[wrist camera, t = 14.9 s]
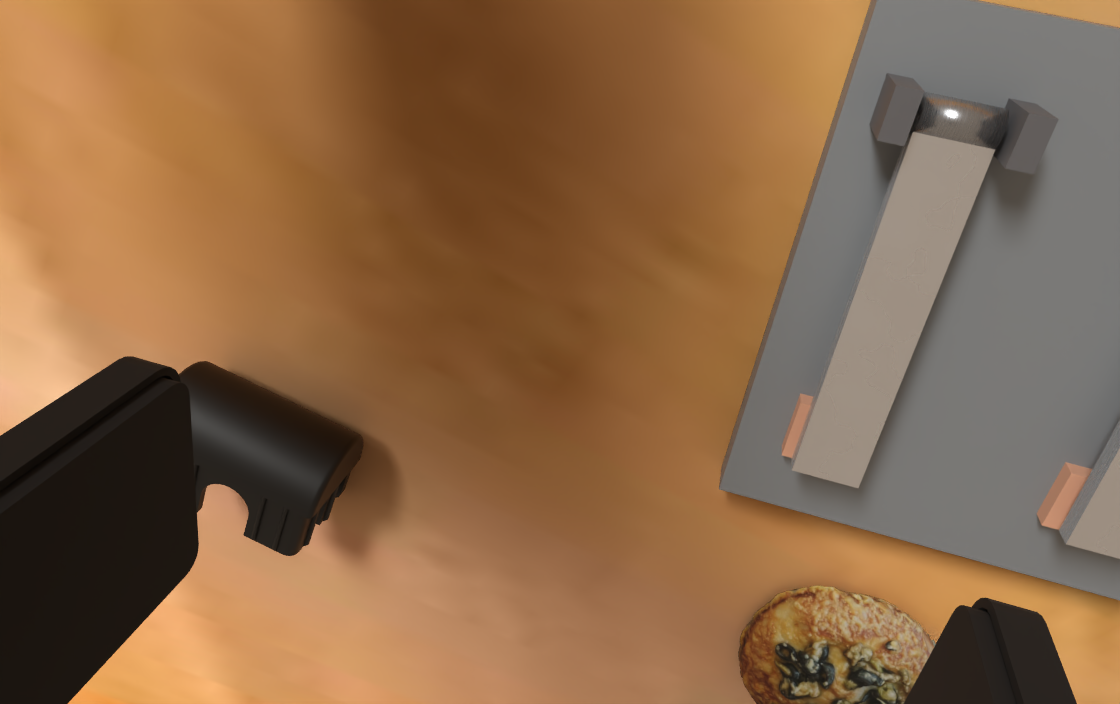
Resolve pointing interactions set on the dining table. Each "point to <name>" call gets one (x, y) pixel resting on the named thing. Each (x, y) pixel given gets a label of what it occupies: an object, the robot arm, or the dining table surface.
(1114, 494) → the strap
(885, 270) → the strap
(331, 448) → the end cap
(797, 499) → the clamp board
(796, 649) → the bread roll
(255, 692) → the dining table surface
